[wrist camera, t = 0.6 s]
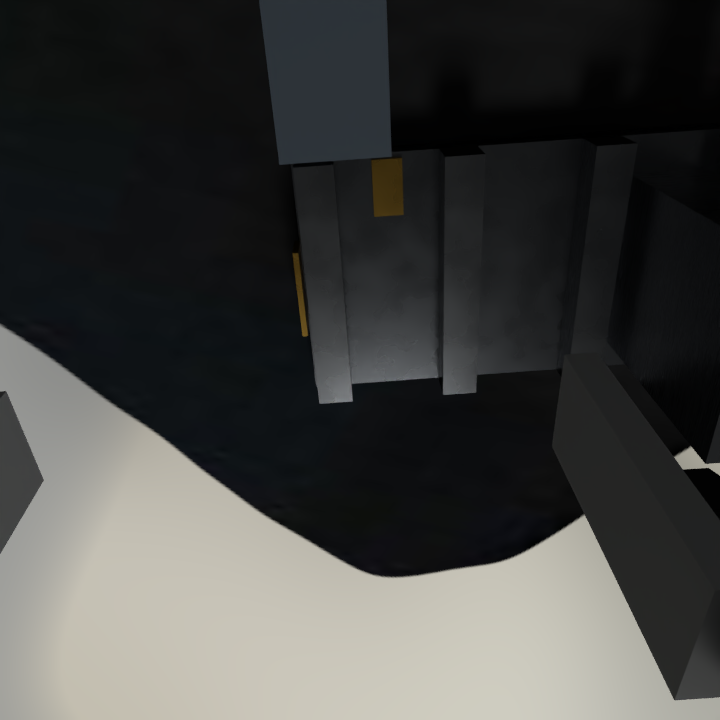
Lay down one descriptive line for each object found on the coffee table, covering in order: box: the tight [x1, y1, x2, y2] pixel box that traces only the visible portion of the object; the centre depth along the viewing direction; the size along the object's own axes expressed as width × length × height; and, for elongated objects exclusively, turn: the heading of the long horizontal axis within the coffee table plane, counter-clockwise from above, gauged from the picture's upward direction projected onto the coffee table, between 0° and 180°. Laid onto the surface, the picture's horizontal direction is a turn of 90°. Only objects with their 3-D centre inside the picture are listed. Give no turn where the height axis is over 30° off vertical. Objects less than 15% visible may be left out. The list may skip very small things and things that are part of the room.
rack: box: [291, 123, 720, 464], centre depth 31 cm, size 14×25×14 cm, turn 93°
